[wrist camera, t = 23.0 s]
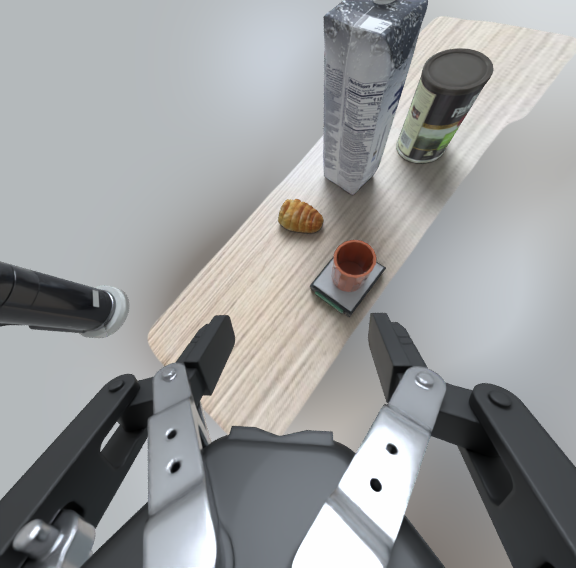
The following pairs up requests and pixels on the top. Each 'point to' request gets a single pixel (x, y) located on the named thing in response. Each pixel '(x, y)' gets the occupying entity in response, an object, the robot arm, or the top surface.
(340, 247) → the terracotta flower pot
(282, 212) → the pastry
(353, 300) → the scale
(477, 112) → the top surface
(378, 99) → the juice carton
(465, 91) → the coffee can
